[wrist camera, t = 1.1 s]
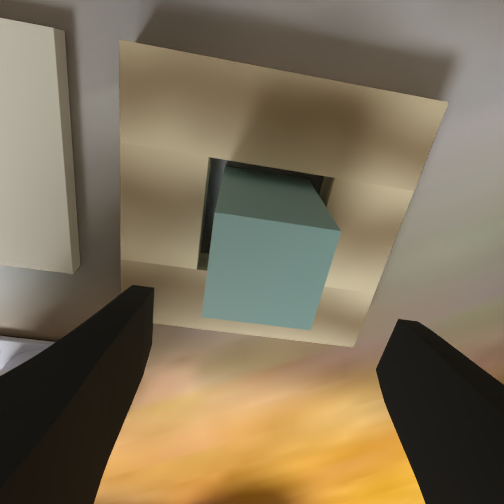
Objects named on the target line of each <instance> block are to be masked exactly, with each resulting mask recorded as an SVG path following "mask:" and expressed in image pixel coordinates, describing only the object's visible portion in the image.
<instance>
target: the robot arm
mask: <svg viewBox="0 0 504 504" xmlns="http://www.w3.org/2000/svg"><path fill="white" fill-rule="evenodd" d="M153 310H154V288H153V287H146V286H138V285H132V286H130V287H129V288H127V289H126V290H125V291H123V292H122V293H121V294H120V295H118V296H117V297H116V298H115V299H113V300H112V301H111V302H110V303H108V304H107V305H106V306H105V307H103V308H102V309H101V310H100V311H98V312H97V313H96V314H94V315H93V316H92V317H90V318H89V319H88V320H86V321H85V322H84V323H82V324H81V325H80V326H78V327H77V328H76V329H74V330H73V331H71V332H70V333H68V334H67V335H65V336H64V337H63V338H61V339H60V340H58V341H57V342H50V341H42V340H33V339H24V338H15V337H6V336H0V504H94V501H95V498H96V494H97V491H98V488H99V485H100V482H101V479H102V476H103V473H104V470H105V467H106V465H107V462H108V459H109V457H110V454H111V452H112V449H113V447H114V444H115V442H116V440H117V437H118V435H119V432H120V430H121V428H122V425H123V423H124V420H125V418H126V416H127V413H128V411H129V408H130V406H131V404H132V401H133V399H134V396H135V394H136V392H137V389H138V387H139V384H140V382H141V379H142V377H143V374H144V370H145V367H146V363H147V360H148V356H149V352H150V349H151V345H152V331H153ZM376 372H377V376H378V380H379V384H380V388H381V391H382V395H383V398H384V402H385V404H386V407H387V409H388V412H389V414H390V417H391V419H392V422H393V424H394V427H395V429H396V432H397V434H398V436H399V439H400V441H401V443H402V446H403V448H404V451H405V453H406V455H407V458H408V460H409V463H410V465H411V467H412V470H413V472H414V474H415V477H416V479H417V482H418V484H419V487H420V490H421V492H422V495H423V498H424V500H425V503H426V504H504V385H503V384H502V383H501V382H499V381H498V380H496V379H495V378H494V377H492V376H491V375H490V374H488V373H487V372H486V371H484V370H483V369H482V368H480V367H479V366H478V365H476V364H475V363H474V362H472V361H471V360H470V359H469V358H467V357H466V356H465V355H463V354H462V353H461V352H459V351H458V350H457V349H455V348H454V347H453V346H452V345H450V344H449V343H448V342H446V341H445V340H444V339H442V338H441V337H440V336H438V335H437V334H435V333H434V332H433V331H431V330H430V329H428V328H427V327H425V326H424V325H422V324H421V323H419V322H417V321H410V320H402V319H398V321H397V323H396V325H395V328H394V330H393V332H392V334H391V337H390V339H389V341H388V343H387V346H386V348H385V350H384V352H383V355H382V357H381V359H380V361H379V364H378V366H377V368H376Z"/></svg>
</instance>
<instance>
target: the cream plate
mask: <svg viewBox="0 0 504 504" xmlns="http://www.w3.org/2000/svg"><path fill="white" fill-rule="evenodd" d="M0 265H5V266H12V267H20V268H28V269H36V270H43V271H51V272H59V273H66V274H74V272H75V271H76V270H77V269H78V268H79V267H80V252H79V237H78V222H77V207H76V192H75V177H74V162H73V147H72V132H71V117H70V102H69V87H68V72H67V57H66V42H65V31H63V30H60V29H56V28H52V27H46V26H41V25H36V24H31V23H25V22H20V21H15V20H10V19H4V18H0Z"/></svg>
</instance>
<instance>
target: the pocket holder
mask: <svg viewBox="0 0 504 504" xmlns="http://www.w3.org/2000/svg"><path fill="white" fill-rule="evenodd" d="M119 89H120V245H121V293H122V292H123V291H125V290H126V289H127V288H129V287H130V286H132V285H138V286H146V287H153V288H154V310H153V323H154V324H162V325H171V326H179V327H188V328H196V329H204V330H213V331H221V332H230V333H238V334H246V335H255V336H263V337H272V338H280V339H288V340H297V341H305V342H314V343H322V344H330V345H339V346H347V347H354V344H355V342H356V339H357V337H358V334H359V332H360V329H361V326H362V324H363V321H364V319H365V316H366V314H367V311H368V308H369V306H370V303H371V301H372V298H373V296H374V293H375V291H376V288H377V285H378V283H379V280H380V278H381V275H382V273H383V270H384V267H385V265H386V262H387V260H388V257H389V255H390V252H391V249H392V247H393V244H394V242H395V239H396V237H397V234H398V232H399V229H400V226H401V224H402V221H403V219H404V216H405V214H406V211H407V208H408V206H409V203H410V201H411V198H412V196H413V193H414V190H415V188H416V185H417V183H418V180H419V178H420V175H421V173H422V170H423V167H424V165H425V162H426V160H427V157H428V155H429V152H430V149H431V147H432V144H433V142H434V139H435V137H436V134H437V131H438V129H439V126H440V124H441V121H442V119H443V116H444V114H445V111H446V108H447V106H448V103H449V102H445V101H439V100H434V99H429V98H424V97H419V96H413V95H408V94H403V93H398V92H392V91H387V90H382V89H377V88H371V87H366V86H361V85H356V84H350V83H345V82H340V81H335V80H329V79H324V78H319V77H314V76H308V75H303V74H298V73H293V72H287V71H282V70H277V69H272V68H267V67H261V66H256V65H251V64H246V63H240V62H235V61H230V60H225V59H219V58H214V57H209V56H204V55H198V54H193V53H188V52H183V51H177V50H172V49H167V48H162V47H156V46H151V45H146V44H141V43H135V42H130V41H125V40H120V39H119ZM211 158H217V159H223V160H229V161H235V162H241V163H247V164H253V165H260V166H266V167H272V168H278V169H284V170H290V171H296V172H302V173H308V174H314V175H320V176H324V177H323V181H322V185H321V189H320V193H319V197H320V198H321V200H322V202H323V203H324V205H325V206H326V208H327V209H328V211H329V213H330V214H331V216H332V217H333V219H334V220H335V222H336V224H337V225H338V227H339V228H340V230H341V234H340V237H339V240H338V243H337V247H336V250H335V253H334V256H333V260H332V263H331V266H330V269H329V273H328V276H327V279H326V282H325V286H324V289H323V292H322V295H321V299H320V302H319V305H318V308H317V312H316V315H315V318H314V321H313V325H312V328H311V330H303V329H295V328H286V327H278V326H270V325H262V324H254V323H245V322H237V321H229V320H221V319H213V318H204V317H202V309H203V301H204V293H205V285H206V277H207V269H208V261H209V254H208V253H201V248H202V239H203V230H204V221H205V212H206V203H207V194H208V185H209V176H210V167H211Z"/></svg>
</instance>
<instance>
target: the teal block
mask: <svg viewBox="0 0 504 504" xmlns="http://www.w3.org/2000/svg"><path fill="white" fill-rule="evenodd" d="M340 234H341V230H340V228H339V227H338V225H337V224H336V222H335V220H334V219H333V217H332V216H331V214H330V213H329V211H328V209H327V208H326V206H325V205H324V203H323V202H322V200H321V198H320V197H319V195H318V194H317V192H316V190H315V189H314V187H313V186H312V184H311V183H310V181H309V179H302V178H296V177H290V176H284V175H278V174H272V173H266V172H259V171H253V170H247V169H241V168H235V167H229V166H225V169H224V173H223V178H222V182H221V186H220V191H219V195H218V199H217V204H216V208H215V212H214V220H213V229H212V237H211V245H210V253H209V261H208V269H207V277H206V285H205V293H204V301H203V309H202V317H204V318H213V319H221V320H229V321H237V322H245V323H254V324H262V325H270V326H278V327H286V328H295V329H303V330H311V328H312V325H313V321H314V318H315V315H316V312H317V308H318V305H319V302H320V299H321V295H322V292H323V289H324V286H325V282H326V279H327V276H328V273H329V269H330V266H331V263H332V260H333V256H334V253H335V250H336V247H337V243H338V240H339V237H340Z"/></svg>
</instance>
